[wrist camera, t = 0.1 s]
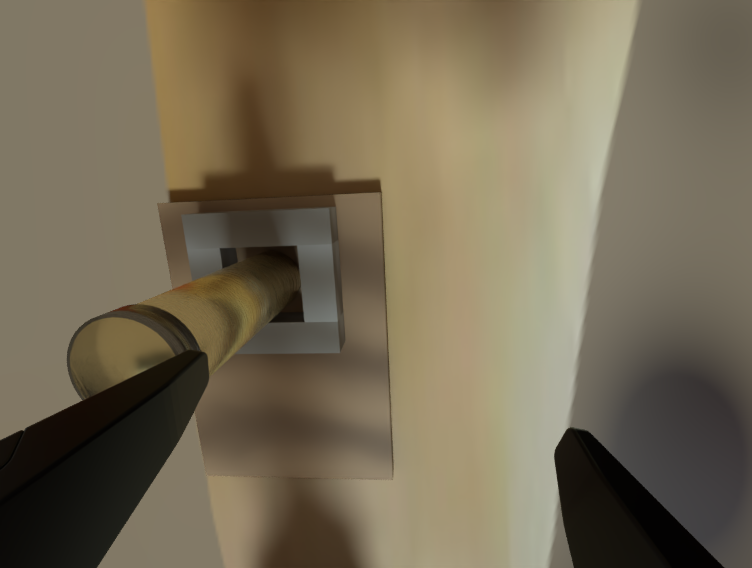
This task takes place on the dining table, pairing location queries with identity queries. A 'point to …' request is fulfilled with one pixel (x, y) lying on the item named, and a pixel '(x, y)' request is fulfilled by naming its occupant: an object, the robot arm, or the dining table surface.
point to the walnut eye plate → (302, 384)
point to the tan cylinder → (183, 322)
